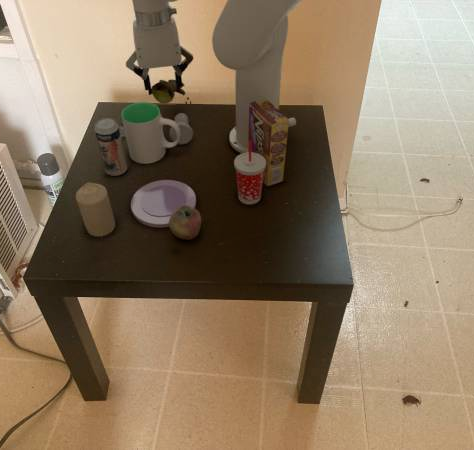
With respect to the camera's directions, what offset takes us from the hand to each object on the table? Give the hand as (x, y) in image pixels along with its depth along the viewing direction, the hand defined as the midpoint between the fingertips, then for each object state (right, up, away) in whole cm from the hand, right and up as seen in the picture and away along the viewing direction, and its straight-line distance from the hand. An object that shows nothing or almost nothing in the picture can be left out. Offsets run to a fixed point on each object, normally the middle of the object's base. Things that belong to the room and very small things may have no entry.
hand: (164, 89), depth 117 cm
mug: (-1, -16, -8) cm, 18 cm away
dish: (+3, -29, -19) cm, 35 cm away
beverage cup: (+20, -27, -18) cm, 38 cm away
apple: (+8, -35, -25) cm, 44 cm away
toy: (-1, -2, -2) cm, 3 cm away
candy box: (+24, -21, -13) cm, 34 cm away
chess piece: (+5, -12, -8) cm, 15 cm away
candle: (-9, -33, -23) cm, 41 cm away
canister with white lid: (-9, -21, -12) cm, 25 cm away
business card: (-10, -11, -1) cm, 15 cm away
